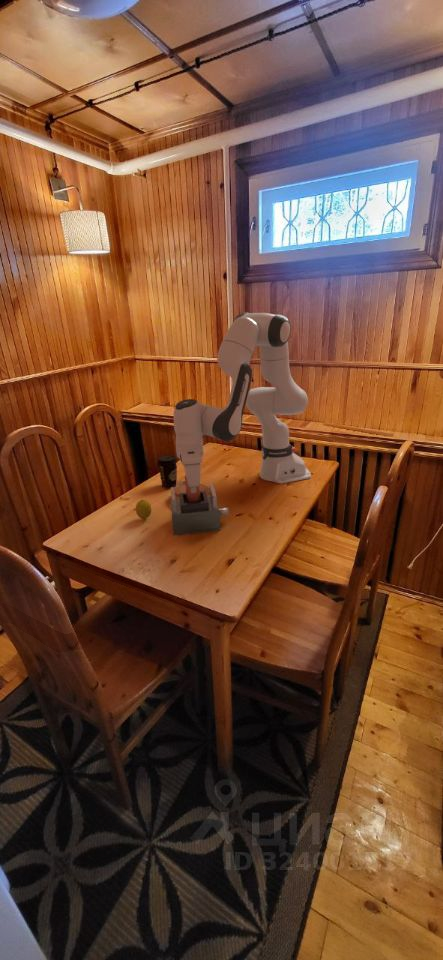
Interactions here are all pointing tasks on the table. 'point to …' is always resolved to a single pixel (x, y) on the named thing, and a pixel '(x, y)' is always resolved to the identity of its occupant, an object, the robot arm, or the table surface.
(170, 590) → the table surface
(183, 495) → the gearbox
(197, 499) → the pink cylinder with stub
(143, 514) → the lemon
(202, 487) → the pie
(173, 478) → the coffee cup
